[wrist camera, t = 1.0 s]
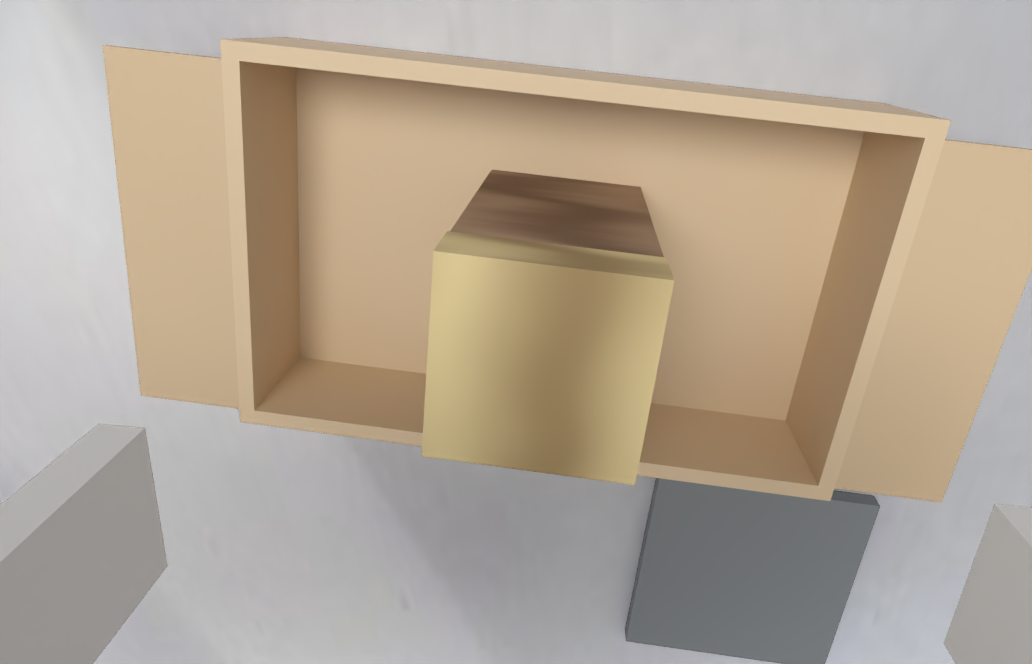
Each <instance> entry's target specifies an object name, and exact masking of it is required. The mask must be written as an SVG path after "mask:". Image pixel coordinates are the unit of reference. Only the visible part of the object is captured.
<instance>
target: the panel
mask: <svg viewBox="0 0 1032 664" xmlns="http://www.w3.org/2000/svg"><path fill="white" fill-rule="evenodd" d="M879 508H880V505H879V504H878V502H877V500H876V499H875V497H874V496H870V495H862V494H855V493H847V492H840V491H833V494H832V497H831V500H830V501H825V500H817V499H810V498H803V497H795V496H788V495H780V494H773V493H765V492H758V491H750V490H743V489H736V488H728V487H721V486H713V485H706V484H698V483H691V482H684V481H676V480H669V479H661V478H656V481H655V486H654V491H653V496H652V501H651V506H650V511H649V516H648V520H647V525H646V530H645V535H644V540H643V545H642V550H641V555H640V559H639V564H638V569H637V574H636V579H635V584H634V589H633V594H632V599H631V603H630V608H629V613H628V618H627V623H626V628H625V634H626V641H629V642H636V643H643V644H650V645H657V646H664V647H671V648H678V649H685V650H691V651H698V652H705V653H712V654H719V655H726V656H733V657H740V658H747V659H754V660H761V661H768V662H775V663H781V664H825V662H826V660H827V657H828V654H829V651H830V648H831V645H832V642H833V640H834V637H835V634H836V631H837V628H838V625H839V622H840V619H841V617H842V614H843V611H844V608H845V605H846V602H847V599H848V597H849V594H850V591H851V588H852V585H853V582H854V579H855V577H856V574H857V571H858V568H859V565H860V562H861V559H862V557H863V554H864V551H865V548H866V545H867V542H868V539H869V537H870V534H871V531H872V528H873V525H874V522H875V519H876V517H877V514H878V511H879Z"/></svg>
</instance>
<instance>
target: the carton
mask: <svg viewBox="0 0 1032 664" xmlns="http://www.w3.org/2000/svg"><path fill="white" fill-rule="evenodd" d="M220 44H221V58H216V57H207V56H198V55H189V54H180V53H172V52H163V51H154V50H145V49H136V48H127V47H118V46H109V45H105V46H103V53H104V62H105V71H106V80H107V90H108V99H109V108H110V117H111V126H112V135H113V145H114V154H115V163H116V172H117V181H118V190H119V199H120V209H121V218H122V227H123V236H124V245H125V254H126V264H127V273H128V282H129V291H130V300H131V309H132V318H133V328H134V337H135V346H136V355H137V364H138V373H139V383H140V392H141V396H149V397H156V398H164V399H171V400H179V401H186V402H194V403H201V404H208V405H216V406H223V407H231V408H238V409H239V412H240V422H245V423H252V424H260V425H267V426H274V427H282V428H289V429H297V430H304V431H312V432H319V433H326V434H334V435H341V436H349V437H356V438H364V439H371V440H379V441H386V442H393V443H401V444H408V445H416V446H422V439H423V422H424V405H425V387H426V370H427V353H428V336H429V319H430V302H431V285H432V268H433V251H434V250H435V248H436V247H437V245H438V244H439V242H440V241H441V239H442V238H443V236H444V235H445V234H446V232H447V231H451V229H452V228H453V226H454V225H455V223H456V222H457V220H458V219H459V217H460V216H461V214H462V213H463V211H464V210H465V208H466V207H467V205H468V204H469V202H470V201H471V199H472V198H473V196H474V195H475V193H476V192H477V191H478V189H479V188H480V186H481V185H482V183H483V182H484V180H485V179H486V177H487V176H488V174H489V173H490V171H491V170H492V169H493V170H501V171H510V172H518V173H527V174H535V175H544V176H552V177H561V178H569V179H578V180H586V181H595V182H604V183H612V184H621V185H629V186H638V187H641V190H642V193H643V196H644V199H645V202H646V205H647V208H648V211H649V214H650V217H651V220H652V223H653V226H654V229H655V232H656V235H657V238H658V241H659V244H660V247H661V250H662V253H663V256H664V257H666V258H667V260H668V263H669V266H670V269H671V272H672V275H673V278H674V280H675V281H674V286H673V291H672V296H671V302H670V307H669V312H668V317H667V322H666V327H665V333H664V338H663V343H662V348H661V353H660V359H659V364H658V369H657V374H656V379H655V385H654V390H653V395H652V400H651V405H650V411H649V416H648V421H647V426H646V431H645V437H644V442H643V447H642V452H641V457H640V462H639V468H638V473H637V475H639V476H646V477H654V478H661V479H669V480H676V481H684V482H691V483H698V484H706V485H713V486H721V487H728V488H736V489H743V490H750V491H758V492H765V493H773V494H780V495H788V496H795V497H803V498H810V499H817V500H825V501H830V500H831V497H832V494H833V491H834V488H837V489H845V490H852V491H860V492H867V493H875V494H882V495H890V496H897V497H904V498H912V499H919V500H927V501H934V502H942V500H943V497H944V494H945V492H946V489H947V487H948V484H949V481H950V479H951V476H952V474H953V471H954V469H955V466H956V463H957V461H958V458H959V456H960V453H961V450H962V448H963V445H964V443H965V440H966V438H967V435H968V432H969V430H970V427H971V425H972V422H973V420H974V417H975V414H976V412H977V409H978V407H979V404H980V401H981V399H982V396H983V394H984V391H985V389H986V386H987V383H988V381H989V378H990V376H991V373H992V371H993V368H994V365H995V363H996V360H997V358H998V355H999V352H1000V350H1001V347H1002V345H1003V342H1004V340H1005V337H1006V334H1007V332H1008V329H1009V327H1010V324H1011V321H1012V319H1013V316H1014V314H1015V311H1016V309H1017V306H1018V303H1019V301H1020V298H1021V296H1022V293H1023V291H1024V288H1025V285H1026V283H1027V280H1028V278H1029V275H1030V272H1031V270H1032V149H1026V148H1017V147H1008V146H999V145H990V144H981V143H973V142H964V141H955V140H946V139H945V138H946V135H947V132H948V128H949V125H950V122H951V120H947V119H943V118H939V117H935V116H932V115H928V114H924V113H920V112H916V111H912V110H908V109H904V108H900V107H897V106H893V105H889V104H885V103H875V102H866V101H857V100H848V99H839V98H830V97H821V96H812V95H803V94H794V93H785V92H776V91H767V90H758V89H749V88H740V87H731V86H722V85H713V84H704V83H695V82H686V81H677V80H668V79H659V78H650V77H640V76H631V75H622V74H613V73H604V72H595V71H586V70H577V69H568V68H559V67H550V66H541V65H532V64H523V63H514V62H505V61H496V60H487V59H478V58H469V57H460V56H451V55H442V54H433V53H424V52H415V51H406V50H396V49H387V48H378V47H369V46H360V45H351V44H342V43H333V42H324V41H315V40H306V39H297V38H288V37H272V38H242V39H220Z"/></svg>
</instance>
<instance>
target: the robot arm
mask: <svg viewBox="0 0 1032 664" xmlns="http://www.w3.org/2000/svg"><path fill="white" fill-rule="evenodd" d="M166 567H167V560H166V554H165V548H164V542H163V535H162V529H161V523H160V517H159V511H158V505H157V498H156V492H155V486H154V480H153V474H152V468H151V462H150V455H149V449H148V443H147V437H146V431H145V428H142V427H130V426H119V425H108V424H98V425H96V426H95V427H94V428H93V429H92V430H90V431H89V432H88V433H87V434H86V435H84V436H83V437H82V438H81V439H79V440H78V441H77V442H76V443H75V444H73V445H72V446H71V447H70V448H69V449H67V450H66V451H65V452H64V453H63V454H61V455H60V456H59V457H58V458H57V459H55V460H54V461H53V462H52V463H51V464H49V465H48V466H47V467H46V468H45V469H43V470H42V471H41V472H40V473H39V474H37V475H36V476H35V477H34V478H33V479H31V480H30V481H29V482H28V483H27V484H25V485H24V486H23V487H22V488H20V489H19V490H18V491H17V492H16V493H14V494H13V495H12V496H11V497H10V498H8V499H7V500H6V501H5V502H4V503H2V504H1V505H0V664H93V663H94V662H95V661H96V659H97V658H98V657H99V655H100V654H101V653H102V651H103V650H104V649H105V647H106V646H107V645H108V643H109V642H110V641H111V640H112V638H113V637H114V636H115V634H116V633H117V632H118V630H119V629H120V628H121V626H122V625H123V624H124V622H125V621H126V620H127V619H128V617H129V616H130V615H131V613H132V612H133V611H134V609H135V608H136V607H137V605H138V604H139V603H140V601H141V600H142V599H143V598H144V596H145V595H146V594H147V592H148V591H149V590H150V588H151V587H152V586H153V584H154V583H155V582H156V580H157V579H158V578H159V576H160V575H161V574H162V573H163V571H164V570H165V569H166ZM944 645H945V647H946V648H947V650H948V652H949V653H950V655H951V657H952V659H953V660H954V662H955V664H1032V507H1025V506H1014V505H1003V504H994V506H993V509H992V512H991V515H990V517H989V520H988V523H987V526H986V528H985V531H984V534H983V537H982V539H981V542H980V545H979V548H978V550H977V553H976V556H975V559H974V561H973V564H972V567H971V570H970V572H969V575H968V578H967V580H966V583H965V586H964V589H963V591H962V594H961V597H960V600H959V602H958V605H957V608H956V611H955V613H954V616H953V619H952V622H951V624H950V627H949V630H948V633H947V635H946V638H945V641H944Z"/></svg>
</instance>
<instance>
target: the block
mask: <svg viewBox="0 0 1032 664" xmlns="http://www.w3.org/2000/svg"><path fill="white" fill-rule="evenodd" d="M674 281H675V280H674V278H673V275H672V272H671V269H670V266H669V263H668V260H667V258H666V257H664V256H663V253H662V250H661V247H660V244H659V241H658V238H657V235H656V232H655V229H654V226H653V223H652V220H651V217H650V214H649V211H648V208H647V205H646V202H645V199H644V196H643V193H642V190H641V187H638V186H629V185H621V184H612V183H604V182H595V181H586V180H578V179H569V178H561V177H552V176H544V175H535V174H527V173H518V172H510V171H501V170H493V169H492V170H491V171H490V173H489V174H488V176H487V177H486V179H485V180H484V182H483V183H482V185H481V186H480V188H479V189H478V191H477V192H476V193H475V195H474V196H473V198H472V199H471V201H470V202H469V204H468V205H467V207H466V208H465V210H464V211H463V213H462V214H461V216H460V217H459V219H458V220H457V222H456V223H455V225H454V226H453V228H452V229H451V231H447V232H446V234H445V235H444V236H443V238H442V239H441V241H440V242H439V244H438V245H437V247H436V248H435V250H434V251H433V268H432V285H431V302H430V319H429V336H428V353H427V370H426V387H425V405H424V422H423V439H422V456H423V457H430V458H438V459H445V460H453V461H460V462H467V463H475V464H482V465H490V466H497V467H504V468H512V469H519V470H527V471H534V472H541V473H549V474H556V475H564V476H571V477H578V478H586V479H593V480H601V481H608V482H615V483H623V484H630V485H635V483H636V478H637V473H638V468H639V462H640V457H641V452H642V447H643V442H644V437H645V431H646V426H647V421H648V416H649V411H650V405H651V400H652V395H653V390H654V385H655V379H656V374H657V369H658V364H659V359H660V353H661V348H662V343H663V338H664V333H665V327H666V322H667V317H668V312H669V307H670V302H671V296H672V291H673V286H674Z"/></svg>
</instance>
